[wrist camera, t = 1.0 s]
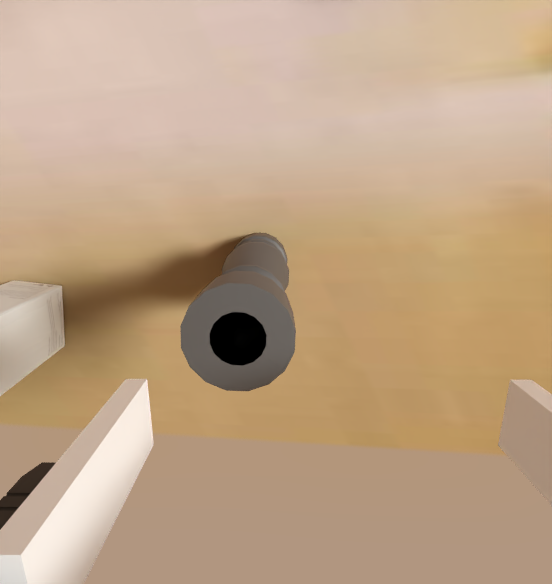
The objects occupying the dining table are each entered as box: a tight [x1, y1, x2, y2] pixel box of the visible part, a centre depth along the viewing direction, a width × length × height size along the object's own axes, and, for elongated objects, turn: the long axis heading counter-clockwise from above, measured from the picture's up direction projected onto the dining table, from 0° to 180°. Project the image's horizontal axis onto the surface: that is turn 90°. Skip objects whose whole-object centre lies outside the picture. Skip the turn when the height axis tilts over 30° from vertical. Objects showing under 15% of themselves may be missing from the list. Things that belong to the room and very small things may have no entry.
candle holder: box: [181, 233, 296, 391], centre depth 30 cm, size 6×6×25 cm
